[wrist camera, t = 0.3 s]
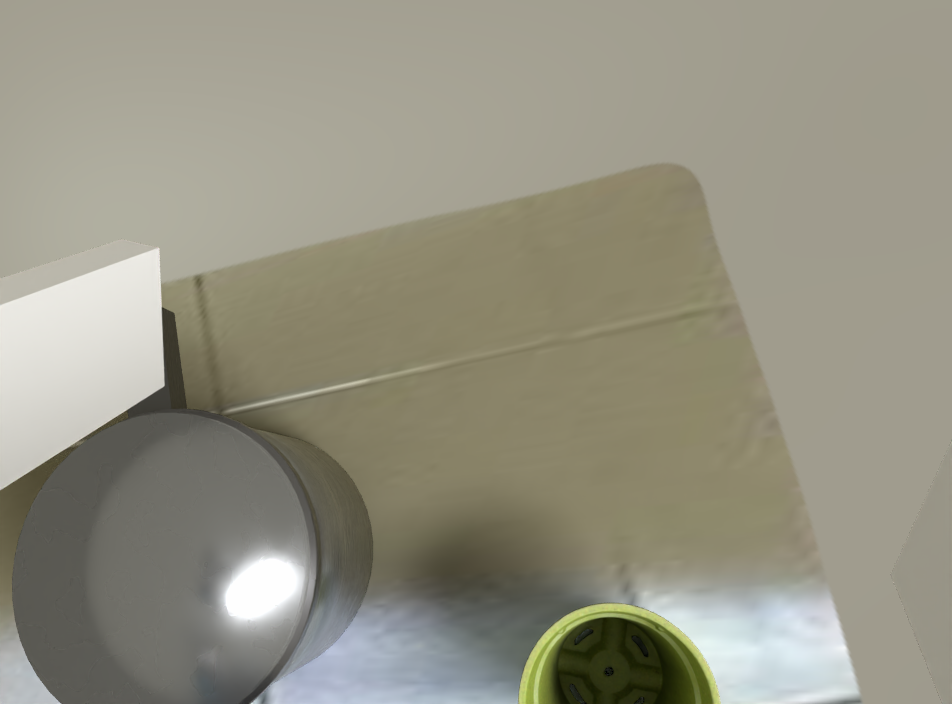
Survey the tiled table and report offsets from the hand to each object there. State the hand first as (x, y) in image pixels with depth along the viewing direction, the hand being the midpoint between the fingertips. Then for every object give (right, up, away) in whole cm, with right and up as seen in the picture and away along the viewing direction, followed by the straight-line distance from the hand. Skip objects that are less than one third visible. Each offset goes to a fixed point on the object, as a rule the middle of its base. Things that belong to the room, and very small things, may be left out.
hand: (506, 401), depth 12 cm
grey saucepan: (-15, -9, +36) cm, 40 cm away
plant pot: (+7, -18, +31) cm, 37 cm away
